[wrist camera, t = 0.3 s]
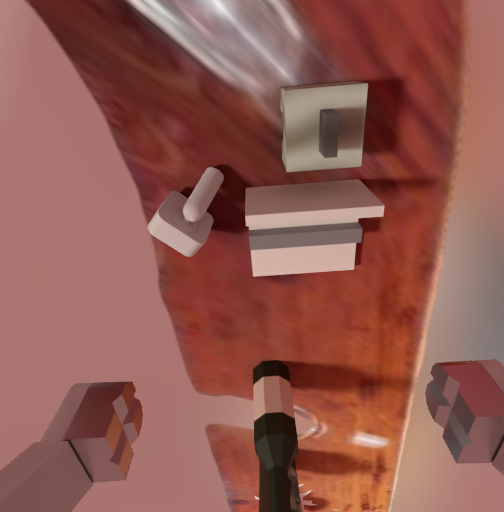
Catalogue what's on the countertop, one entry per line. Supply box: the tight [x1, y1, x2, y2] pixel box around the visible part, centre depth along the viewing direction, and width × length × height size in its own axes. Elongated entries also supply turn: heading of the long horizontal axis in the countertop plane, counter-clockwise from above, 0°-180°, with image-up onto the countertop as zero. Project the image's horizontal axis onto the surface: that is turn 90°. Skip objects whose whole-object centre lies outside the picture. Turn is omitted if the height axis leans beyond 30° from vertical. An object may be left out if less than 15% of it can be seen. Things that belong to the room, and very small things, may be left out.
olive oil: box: [259, 460, 303, 512], centre depth 80 cm, size 11×11×25 cm
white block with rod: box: [148, 167, 224, 257], centre depth 50 cm, size 8×10×10 cm
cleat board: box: [245, 179, 384, 276], centre depth 52 cm, size 16×18×12 cm
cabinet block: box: [280, 81, 368, 172], centre depth 44 cm, size 10×10×11 cm
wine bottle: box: [253, 360, 298, 512], centre depth 62 cm, size 8×8×30 cm
